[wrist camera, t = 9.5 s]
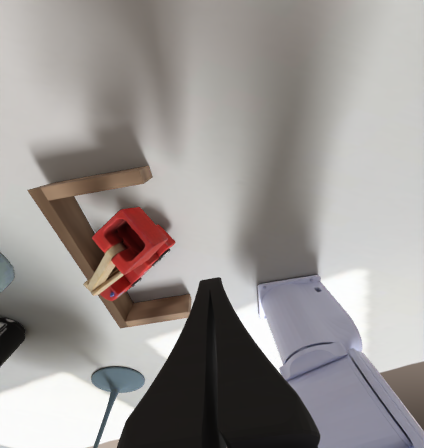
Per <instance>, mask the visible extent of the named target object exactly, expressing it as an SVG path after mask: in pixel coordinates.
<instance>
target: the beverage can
mask: <svg viewBox="0 0 424 448" xmlns="http://www.w3.org/2000/svg"><path fill="white" fill-rule="evenodd" d="M24 339H25V329H24V327H23V326H22V325H20V324H19V323H17V322H15V321H13V320H10V319H7V318H0V367H1V366H2V365H3V363H4V362H5V361H6V360H7V359H8V358H9V357H10V356H11V355H12V353H13V352H14V351H15V350H16V349H17V348H18V347H19V346H20V344H21V343H22V342H23V341H24Z"/></svg>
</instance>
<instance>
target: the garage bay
mask: <svg viewBox="0 0 424 448" xmlns="http://www.w3.org/2000/svg"><path fill="white" fill-rule="evenodd" d="M151 178H152V174H151V171H150V168H149V166H144V167H138V168H133V169H127V170H122V171H116V172H111V173H105V174H100V175H94V176H88V177H83V178H77V179H72V180H66V181H61V182H55V183H51V184H48V185H44V186H40V187H37V188H33V189H30V190H28V192H29V193H30V195H31V196H32V198H33V199H34V201H35V202H36V204H37V205H38V207H39V208H40V210H41V211H42V213H43V214H44V216H45V217H46V219H47V220H48V222H49V223H50V225H51V226H52V228H53V229H54V231H55V232H56V233H57V235H58V236H59V238H60V239H61V241H62V242H63V244H64V245H65V247H66V248H67V250H68V251H69V253H70V254H71V256H72V257H73V259H74V260H75V262H76V263H77V265H78V266H79V268H80V269H81V271H82V272H83V274H84V275H85V277H86V278H87V280H89V279H90V278H92V277H93V275H94V273H95V271H96V269H97V267H98V266H99V264H100V262H101V261H102V259H103V257H104V255H105V253H104V252H103V251H102V250H101V249H100V248H99V246H98V245H97V244H96V243H95V241H94V240H93V239H92V236H94V235H95V234H94V232H93V230H92V228H91V226H90V225H89V223H88V221H87V219H86V217H85V216H84V214H83V212H82V210H81V208H80V207H79V205H78V203H77V201H76V199H75V198H74V196H77V195H82V194H88V193H94V192H99V191H105V190H110V189H116V188H122V187H127V186H133V185H139V184H144V183H145V182H147V181H148V180H149V179H151ZM98 296H99V297H100V299H101V300H102V302H103V303H104V305H105V306H106V308H107V309H108V311H109V312H110V314H111V315H112V317H113V318H114V320H115V321H116V323H117V324H118V326H119V327H120V328H125V327H132V326H138V325H144V324H151V323H157V322H163V321H170V320H176V319H182V318H188V316H189V314H190V312H191V297H190V294H187V295H181V296H175V297H169V298H162V299H156V300H150V301H144V302H138V303H133V302H132V300H131V299H130V297H129V295H128V293H127V291H126V292H124V293H123V294H122V295H120V296H119V297H118V298H117V299H115V300H113V301H109V300H107V299H105V298H103V297H102V296H101V295H100V294H99V295H98Z"/></svg>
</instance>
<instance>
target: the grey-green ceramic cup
mask: <svg viewBox="0 0 424 448" xmlns="http://www.w3.org/2000/svg"><path fill="white" fill-rule="evenodd" d="M14 277H15V276H14V270H13V266H12V265H11V264H10V262H9V261H8V260H7V259H6V258H5V257H4V256H3V255H2V254H1V253H0V292H1V291H3V290H4V289H5V288H6V287H7V286H8V285H9V284H10V283H11V282H12V281H13V279H14Z"/></svg>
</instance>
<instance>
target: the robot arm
mask: <svg viewBox="0 0 424 448" xmlns="http://www.w3.org/2000/svg"><path fill="white" fill-rule="evenodd" d="M320 279H321V277H320V276H319V275H313V276H307V277H300V278H294V279H288V280H282V281H276V282H269V283H263V284H259V285H258V304H259V317H260V319H267V321H268V324H269V327H270V330H271V332H272V335H273V338H274V341H275V343H276V346H277V349H278V351H279V354H280V357H281V360H282V362H283V366H282V367H280V368H279V369H280V372H281V374H280V373H279V372H278V371H277V369H276V368H275V367H274V366H273V365H272V363H271V362H270V361H269V360H268V359H267V357H266V356H265V355H264V353H263V352H262V351H261V349H260V348H259V347H258V346H257V344H256V343H255V342H254V340H253V339H252V337H251V336H250V335H249V333H248V332H247V330H246V329H245V327H244V326H243V324H242V322H241V321H240V319H239V318H238V316H237V314H236V312H235V311H234V309H233V307H232V305H231V303H230V301H229V299H228V297H227V295H226V293H225V290H224V288H223V285H222V281H221V278H219V277H218V278H212V279H207V280H201V281H200V283H199V287H198V291H197V294H196V297H195V301H194V303H193V306H192V309H191V312H190V314H189V316H188V319H187V321H186V324H185V326H184V328H183V330H182V332H181V334H180V336H179V338H178V340H177V342H176V344H175V346H174V348H173V350H172V352H171V353H170V355H169V357H168V359H167V361H166V362H165V364H164V366H163V367H162V369H161V370H160V372H159V374H158V375H157V377H156V378H155V380H154V382H153V383H152V385H151V386H150V388H149V389H148V391H147V392H146V394H145V395H144V396H143V398H142V399H141V401H140V402H139V404H138V405H137V406H136V408H135V409H134V411H133V412H132V413H131V415H130V416H129V418H128V419H127V421H126V423H125V426H124V428H123V431H122V434H121V437H120V440H119V443H118V446H117V448H424V431H423V430H422V428H421V427H420V426H419V424H418V423H417V422H416V420H415V419H414V417H413V416H412V415H411V414H410V412H409V411H408V410H407V408H406V407H405V406H404V404H403V403H402V402H401V400H400V399H399V398H398V396H397V395H396V394H395V393H394V391H393V390H392V389H391V387H390V386H389V385H388V383H387V382H386V381H385V380H384V378H383V377H382V376H381V374H380V373H379V372H378V371H377V369H376V368H375V367H374V366H373V364H372V363H371V362H370V361H369V359H368V358H367V357H366V356H365V354H364V353H362V340H361V337H360V334H359V332H358V329H357V327H356V326H355V324H354V322H353V320H352V319H351V318H350V316H349V315H348V314H347V312H346V311H345V310H344V309H343V308H342V306H341V305H340V304H339V303H338V302H337V301H336V299H335V298H334V297H333V296H332V295H331V293H330V292H329V291H328V290H327V289H326V288H325V286H324V285H323V284H322V283H321V282H320ZM264 286H265V287H264Z"/></svg>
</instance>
